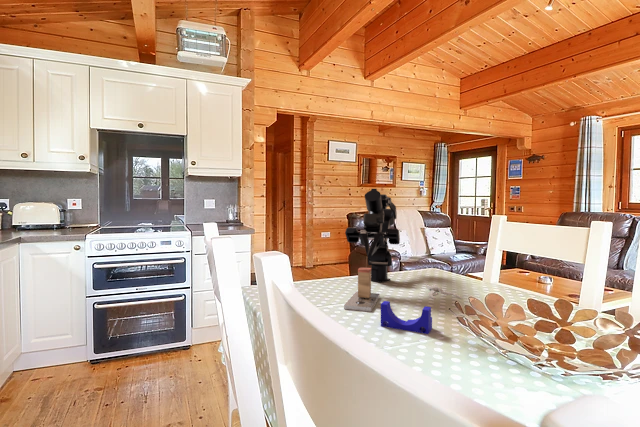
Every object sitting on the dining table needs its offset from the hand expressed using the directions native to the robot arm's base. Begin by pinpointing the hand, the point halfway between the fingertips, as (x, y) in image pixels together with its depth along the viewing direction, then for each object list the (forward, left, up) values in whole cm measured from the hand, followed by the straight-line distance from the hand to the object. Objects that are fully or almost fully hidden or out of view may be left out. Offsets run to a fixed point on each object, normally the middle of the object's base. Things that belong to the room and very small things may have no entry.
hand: (369, 254), depth 124 cm
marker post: (+7, +4, -12) cm, 15 cm away
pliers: (-19, +15, -14) cm, 28 cm away
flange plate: (+9, +5, -14) cm, 17 cm away
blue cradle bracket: (+17, +27, -14) cm, 35 cm away
